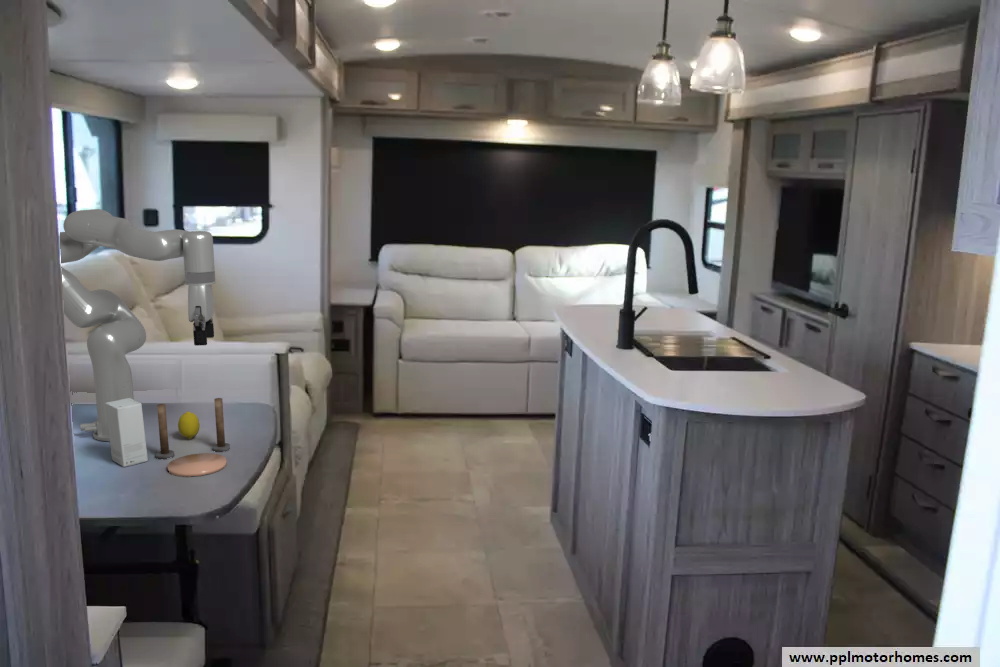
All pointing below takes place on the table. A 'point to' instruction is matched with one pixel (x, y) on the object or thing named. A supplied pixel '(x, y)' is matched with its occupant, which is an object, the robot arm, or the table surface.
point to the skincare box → (126, 432)
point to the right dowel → (220, 427)
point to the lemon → (188, 425)
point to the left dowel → (163, 434)
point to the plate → (197, 464)
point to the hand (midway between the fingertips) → (204, 341)
